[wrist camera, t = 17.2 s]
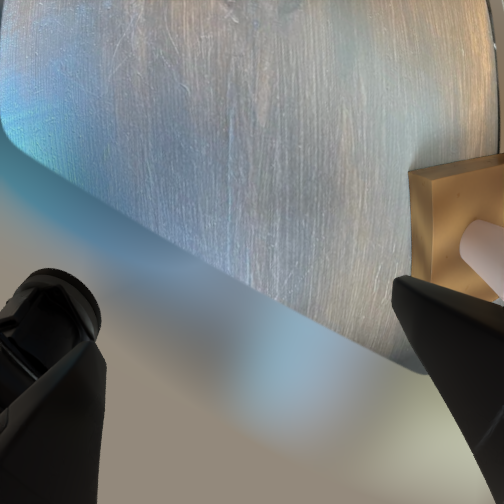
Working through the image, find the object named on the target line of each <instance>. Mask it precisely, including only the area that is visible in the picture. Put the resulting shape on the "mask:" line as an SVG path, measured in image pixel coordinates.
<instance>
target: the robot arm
mask: <svg viewBox="0 0 504 504" xmlns="http://www.w3.org/2000/svg"><path fill="white" fill-rule="evenodd" d="M56 289H58V290H59V291H60V292H58V291H57V290H56ZM391 302H392V307H393V310H394V312H395V314H396V316H397V318H398V320H399V322H400V324H401V326H402V328H403V330H404V332H405V334H406V336H407V338H408V340H409V342H410V344H411V346H412V348H413V349H414V351H415V353H416V354H417V356H418V358H419V359H420V361H421V362H422V364H423V366H424V367H425V369H426V371H427V372H428V374H429V376H430V377H431V379H432V381H433V382H434V384H435V386H436V387H437V389H438V390H439V393H440V394H441V396H442V398H443V399H444V401H445V403H446V405H447V407H448V408H449V410H450V412H451V414H452V416H453V417H454V419H455V421H456V423H457V425H458V426H459V428H460V430H461V432H462V434H463V436H464V437H465V440H466V442H467V443H468V445H469V447H470V449H471V451H472V453H473V454H474V455H473V456H474V458H475V460H476V462H477V464H478V466H479V468H480V470H481V472H482V474H483V476H484V478H485V480H486V483H487V485H488V487H489V489H490V491H491V494H492V496H493V498H494V500H495V503H496V504H504V306H503V307H502V306H501V305H498V304H495V303H492V302H489V301H486V300H483V299H480V298H477V297H474V296H471V295H467V294H464V293H461V292H458V291H455V290H452V289H449V288H446V287H443V286H440V285H436V284H433V283H430V282H427V281H424V280H421V279H418V278H414V277H411V276H408V275H404V276H401V277H397V278H395V279H394V281H393V288H392V300H391ZM106 369H107V367H106V362H105V359H104V358H103V356H102V354H101V352H100V351H99V349H98V347H97V345H96V343H95V342H94V340H93V338H92V337H91V335H90V334H89V332H88V330H87V328H86V327H85V325H84V323H83V322H82V320H81V318H80V316H79V315H78V313H77V311H76V309H75V307H74V306H73V304H72V302H71V300H70V298H69V296H68V294H67V292H66V291H65V289H64V287H63V286H62V285H61V284H59V283H57V284H53V285H50V286H47V287H44V288H41V289H39V288H37V287H33V288H30V289H27V290H24V291H21V292H18V293H16V294H15V295H14V296H13V297H12V298H10V299H9V300H8V301H7V302H6V306H5V307H4V308H3V309H2V310H1V312H0V504H97V490H98V473H99V459H100V449H101V439H102V429H103V420H104V412H105V389H106V371H107V370H106Z"/></svg>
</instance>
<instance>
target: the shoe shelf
mask: <svg viewBox="0 0 504 504" xmlns="http://www.w3.org/2000/svg"><path fill="white" fill-rule="evenodd" d="M408 175H409V188H410V204H411V231H412V270H411V277H414V278H418V279H421V280H424V281H427V282H430V283H433V284H436V285H440V286H443V287H446V288H449V289H452V290H455V291H458V292H461V293H464V294H467V295H471V296H474V297H477V298H480V299H483V300H486V301H489V302H492V301H494V300H496V299H498V298H499V296H498V295H497V294H496V293H495V291H494V290H493V289H492V288H491V287H490V286H489V285H488V284H487V283H486V282H485V281H484V280H483V279H482V278H481V277H480V276H479V275H478V274H477V273H476V272H475V271H474V270H473V269H472V268H471V267H470V266H469V265H468V264H467V263H466V262H465V261H464V260H463V259H462V257H461V255H460V241H461V238H462V235H463V233H464V231H465V230H466V228H467V227H468V226H469V224H471V223H472V222H473V221H475V220H483V221H486V222H489V223H492V224H495V225H498V226H501V227H503V228H504V153H502V154H496V155H490V156H485V157H479V158H474V159H468V160H463V161H458V162H453V163H448V164H443V165H438V166H433V167H428V168H423V169H418V170H414V171H409V172H408Z"/></svg>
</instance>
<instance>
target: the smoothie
mask: <svg viewBox="0 0 504 504" xmlns="http://www.w3.org/2000/svg"><path fill="white" fill-rule="evenodd" d="M460 255H461V257H462V259H463V260H464V261H465V262H466V263H467V264H468V265H469V266H470V267H471V268H472V269H473V270H474V271H475V272H476V273H477V274H478V275H479V276H480V277H481V278H482V279H483V280H484V281H485V282H486V283H487V284H488V285H489V286H490V287H491V288H492V289H493V290H494V291H495V293H496V294H497V295H498V296H499V297H500V298H501V299H502V300H503V301H504V228H503V227H501V226H498V225H495V224H492V223H489V222H486V221H483V220H475V221H473V222H472V223H471V224H469V226H468V227H467V228H466V230H465V231H464V233H463V235H462V238H461V241H460Z"/></svg>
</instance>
